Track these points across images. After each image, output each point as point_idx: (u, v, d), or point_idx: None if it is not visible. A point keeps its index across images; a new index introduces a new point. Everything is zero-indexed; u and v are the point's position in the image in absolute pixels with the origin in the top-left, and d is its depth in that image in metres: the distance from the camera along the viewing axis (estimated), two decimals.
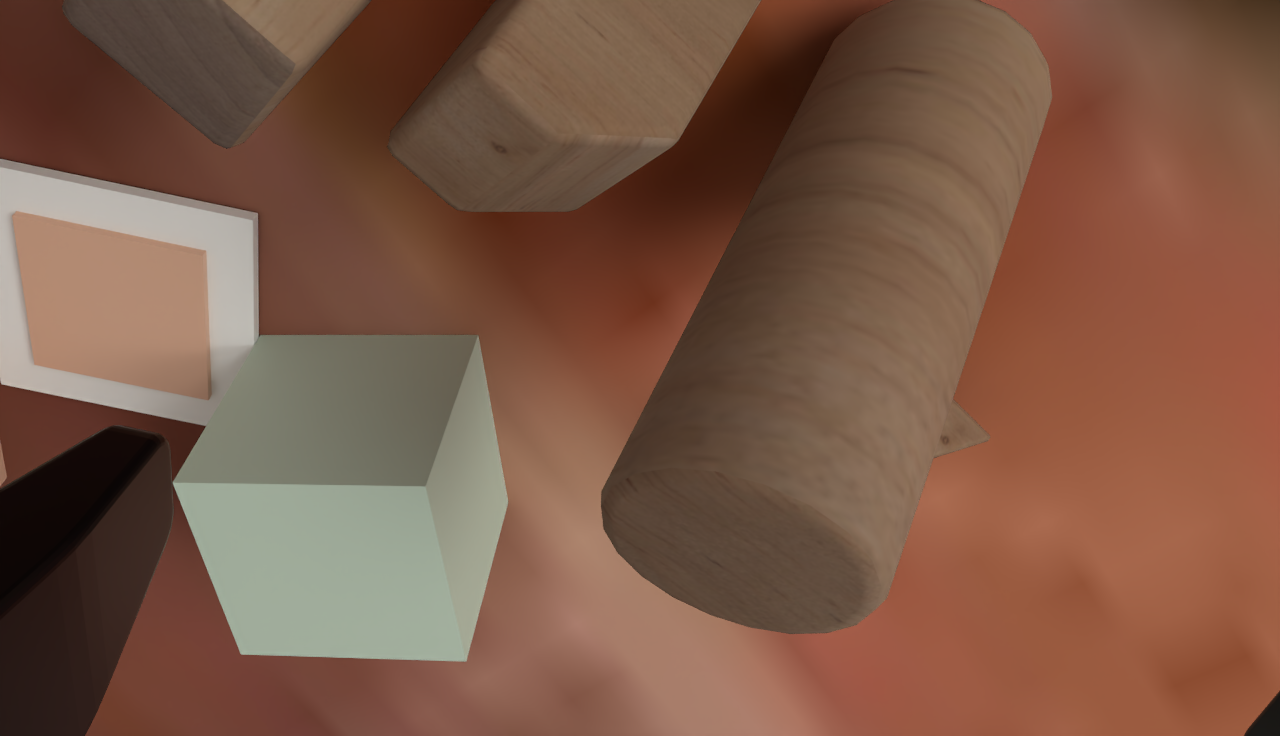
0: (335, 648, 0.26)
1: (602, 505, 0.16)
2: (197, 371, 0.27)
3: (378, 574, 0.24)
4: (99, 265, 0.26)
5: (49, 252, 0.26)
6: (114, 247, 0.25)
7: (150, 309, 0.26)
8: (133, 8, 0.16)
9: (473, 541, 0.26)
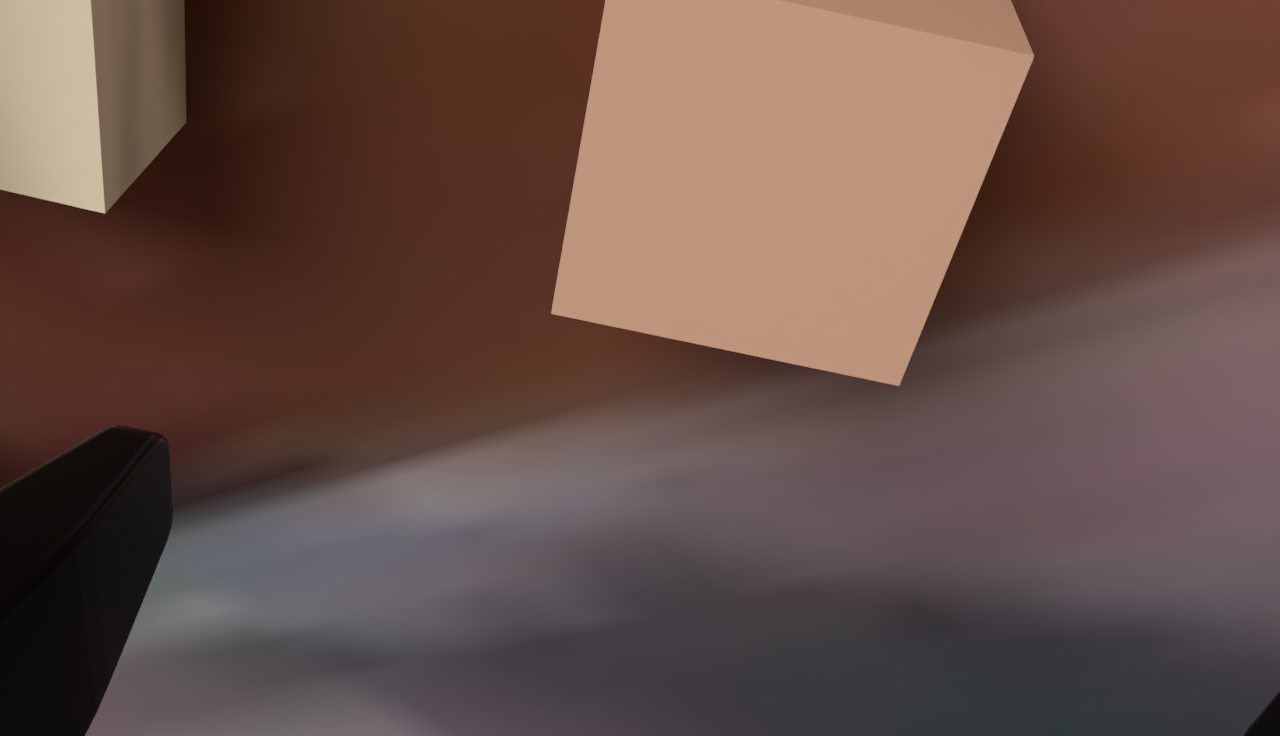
0: None
1: None
2: None
3: None
4: None
5: None
6: None
7: None
8: None
9: None
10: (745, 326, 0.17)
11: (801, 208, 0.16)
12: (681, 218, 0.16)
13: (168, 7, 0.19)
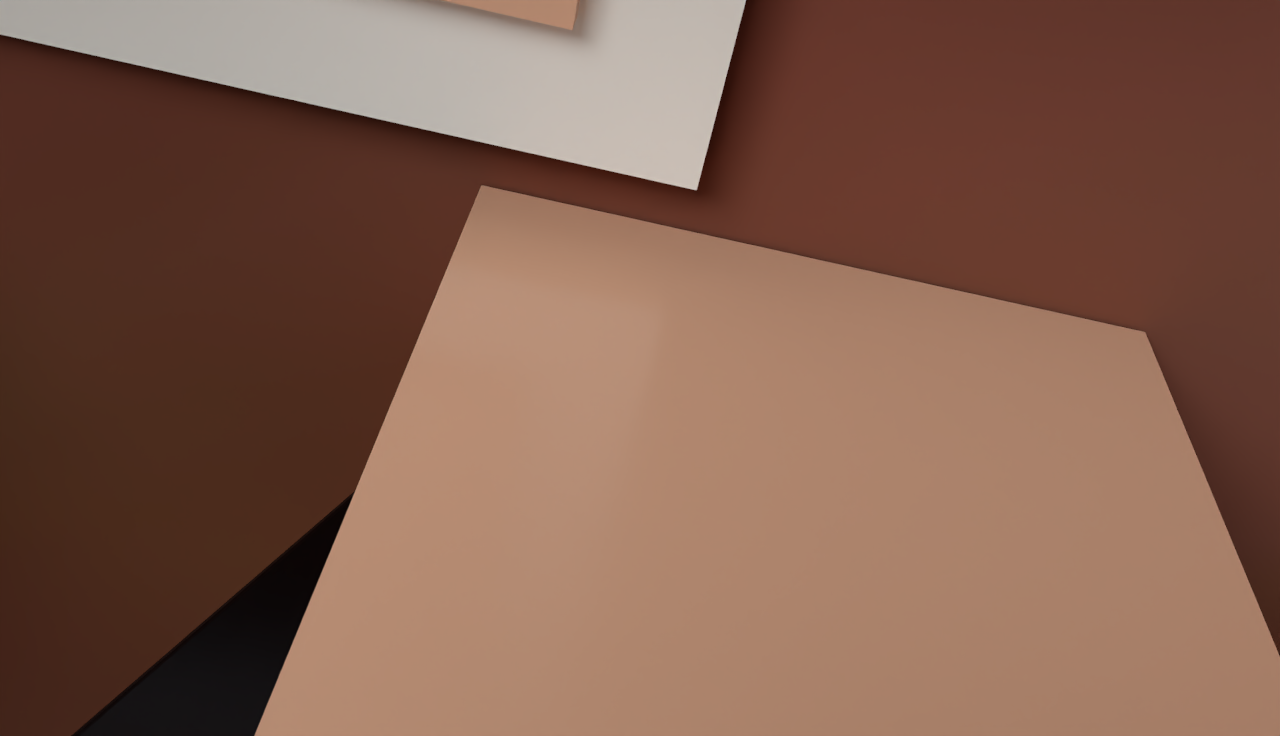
0: None
1: None
2: None
3: None
4: None
5: None
6: None
7: None
8: None
9: None
10: None
11: None
12: None
13: None
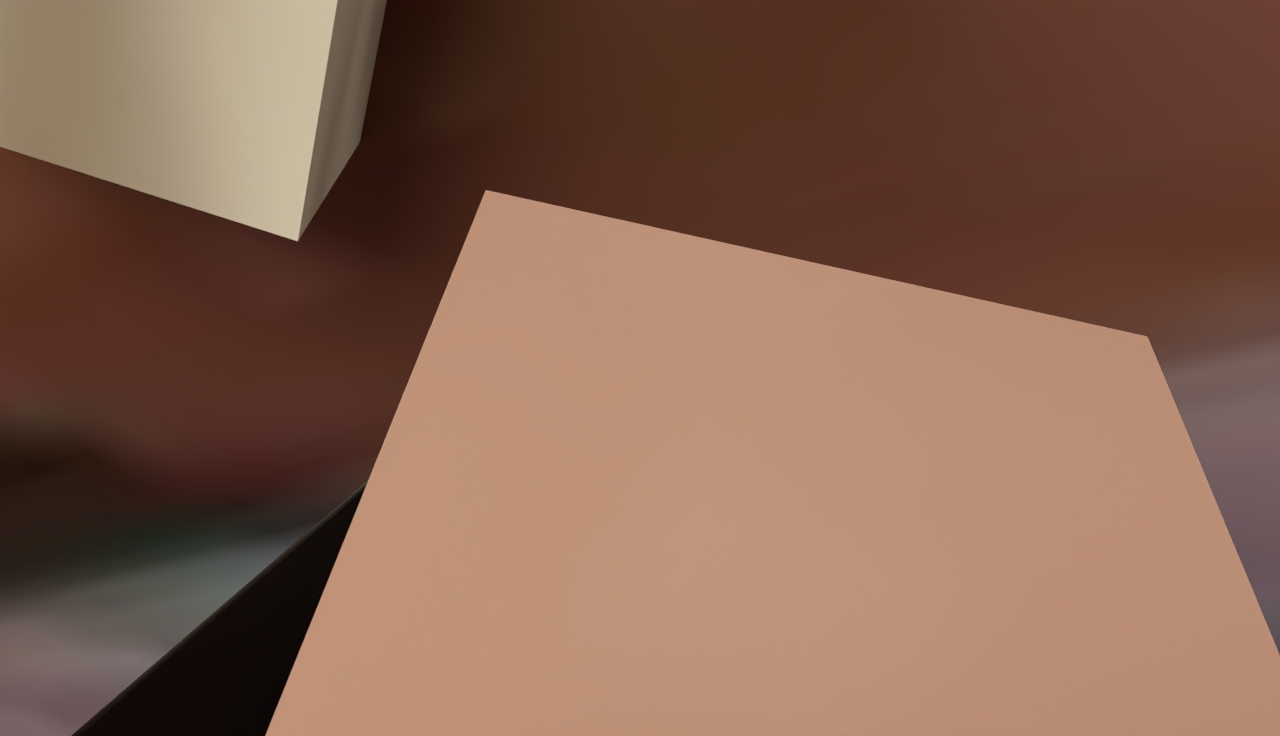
0: None
1: None
2: None
3: None
4: None
5: None
6: None
7: None
8: None
9: None
10: None
11: None
12: None
13: (373, 29, 0.18)
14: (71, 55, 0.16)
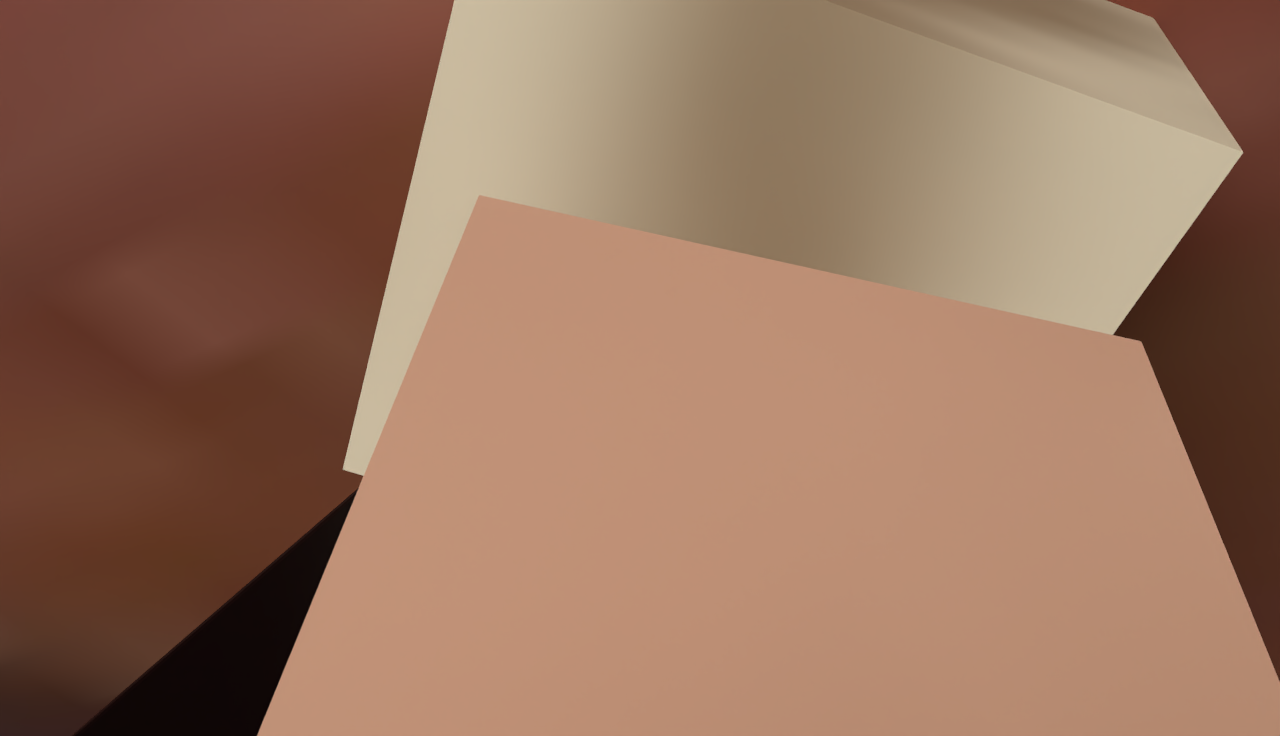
0: None
1: None
2: None
3: None
4: None
5: None
6: None
7: None
8: None
9: None
10: None
11: None
12: None
13: None
14: None
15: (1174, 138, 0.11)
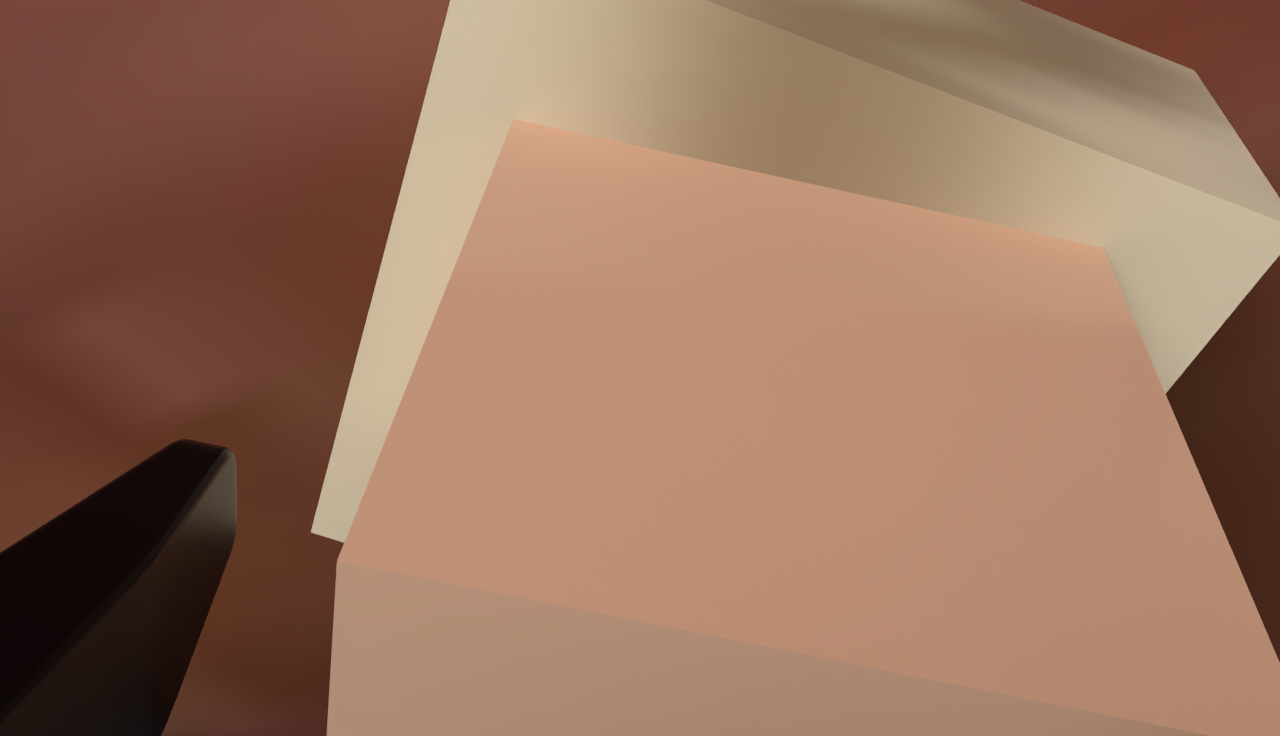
0: None
1: None
2: None
3: None
4: None
5: None
6: None
7: None
8: None
9: None
10: None
11: None
12: None
13: None
14: None
15: (1226, 212, 0.10)
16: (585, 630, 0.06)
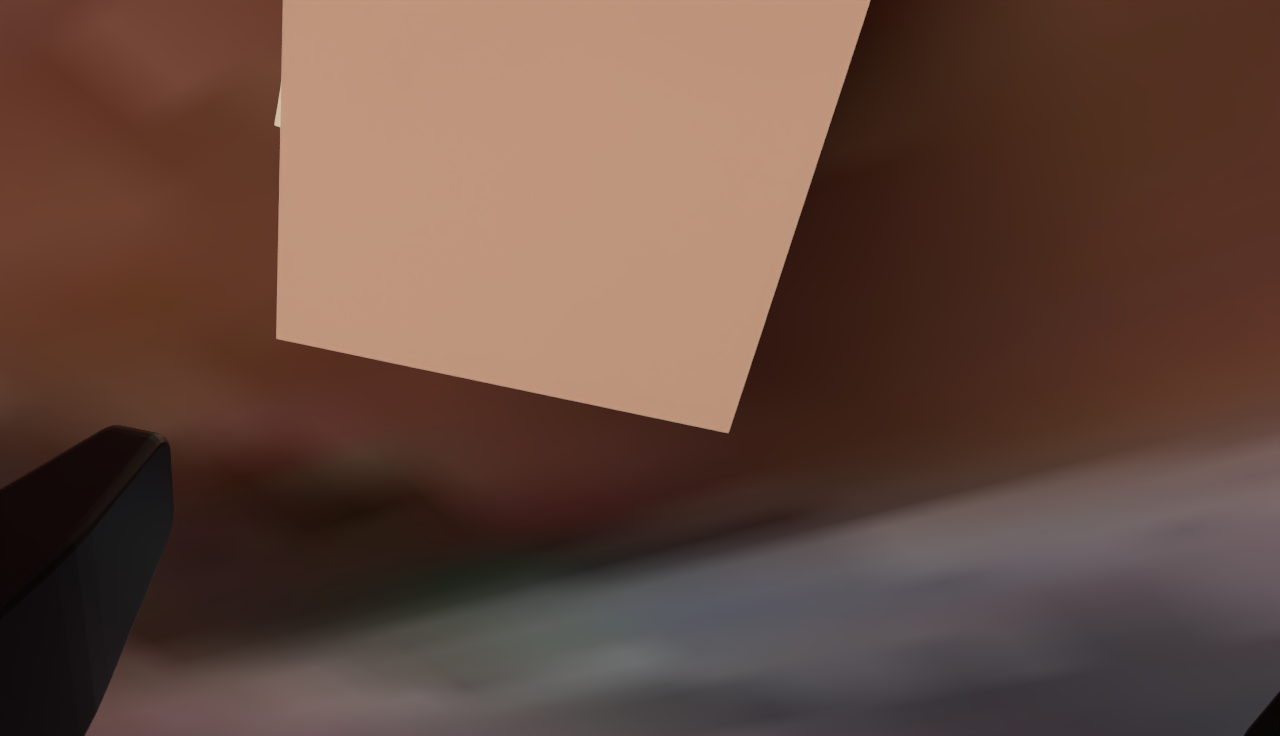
0: None
1: None
2: None
3: None
4: None
5: None
6: None
7: None
8: None
9: None
10: (527, 356, 0.13)
11: (580, 204, 0.12)
12: (426, 216, 0.12)
13: None
14: None
15: None
16: None
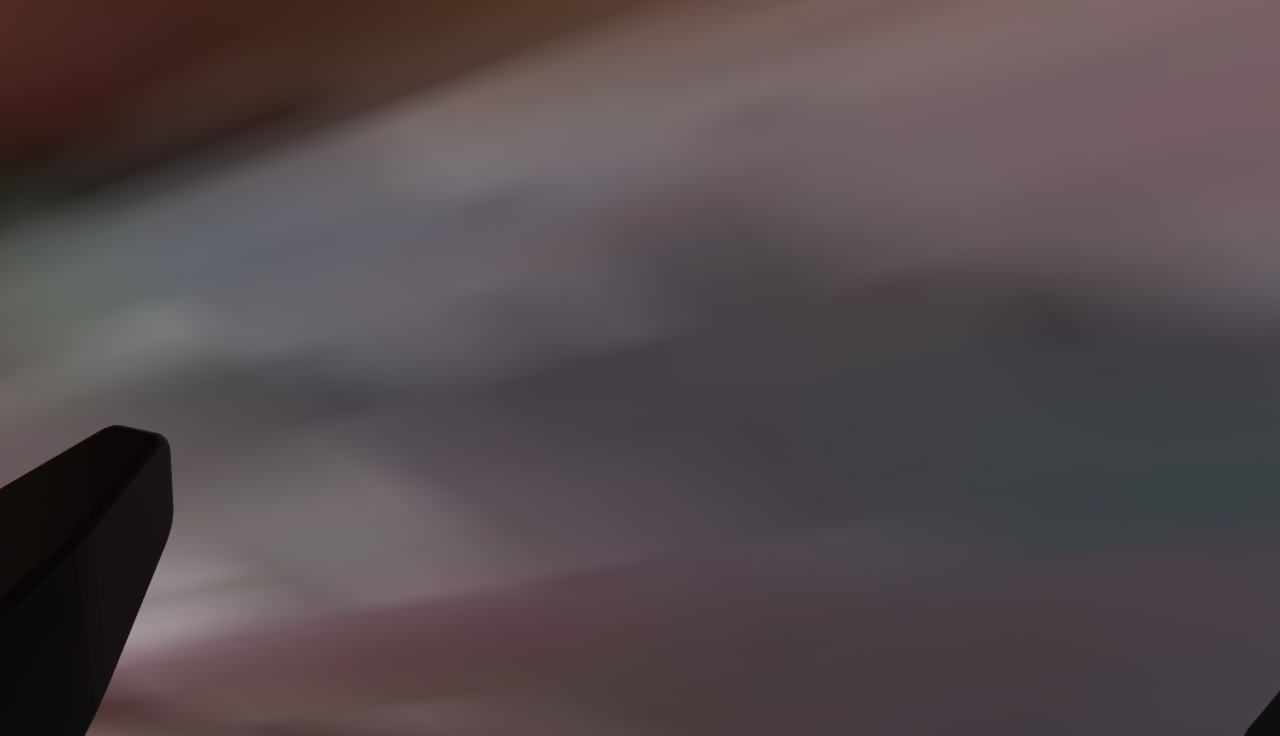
0: None
1: None
2: None
3: None
4: None
5: None
6: None
7: None
8: None
9: None
10: None
11: None
12: None
13: None
14: None
15: None
16: None
